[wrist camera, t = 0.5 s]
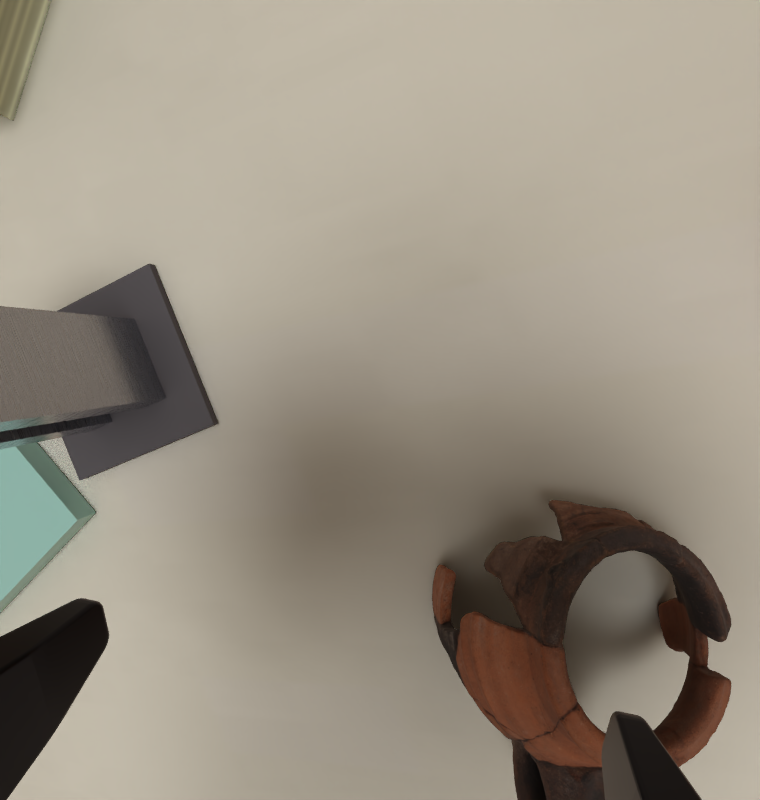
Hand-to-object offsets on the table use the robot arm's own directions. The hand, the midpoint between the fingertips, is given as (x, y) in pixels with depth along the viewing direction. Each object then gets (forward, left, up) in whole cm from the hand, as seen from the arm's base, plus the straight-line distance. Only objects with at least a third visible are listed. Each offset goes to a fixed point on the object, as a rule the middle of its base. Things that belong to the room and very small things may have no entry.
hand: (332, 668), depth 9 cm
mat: (-2, +15, -14) cm, 21 cm away
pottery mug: (-4, -7, -14) cm, 16 cm away
